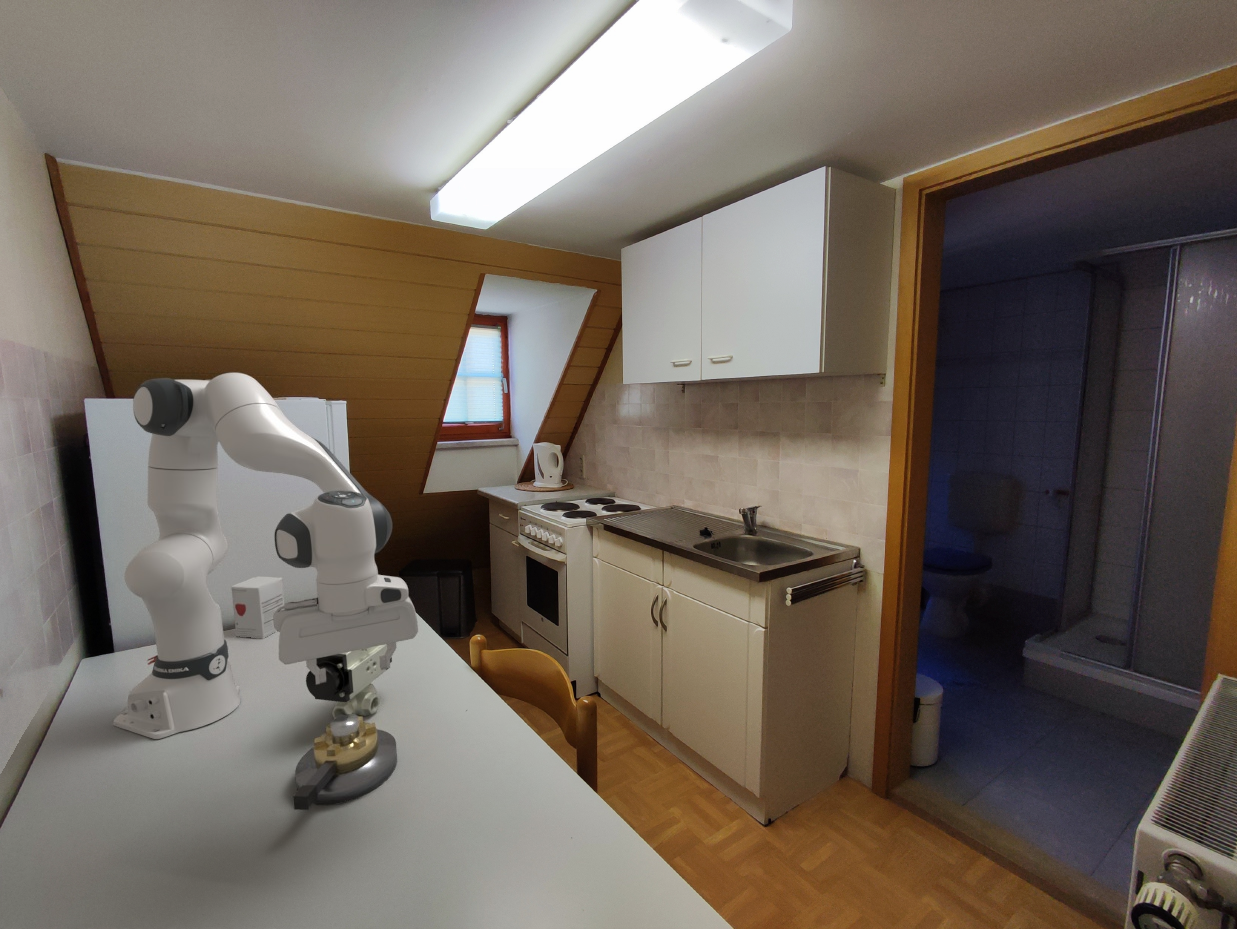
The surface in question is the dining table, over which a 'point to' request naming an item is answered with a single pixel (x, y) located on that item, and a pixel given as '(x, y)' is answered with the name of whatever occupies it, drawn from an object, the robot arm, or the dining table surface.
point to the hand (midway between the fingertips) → (353, 674)
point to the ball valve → (349, 681)
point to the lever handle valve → (336, 761)
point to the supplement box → (257, 605)
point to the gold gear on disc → (355, 780)
